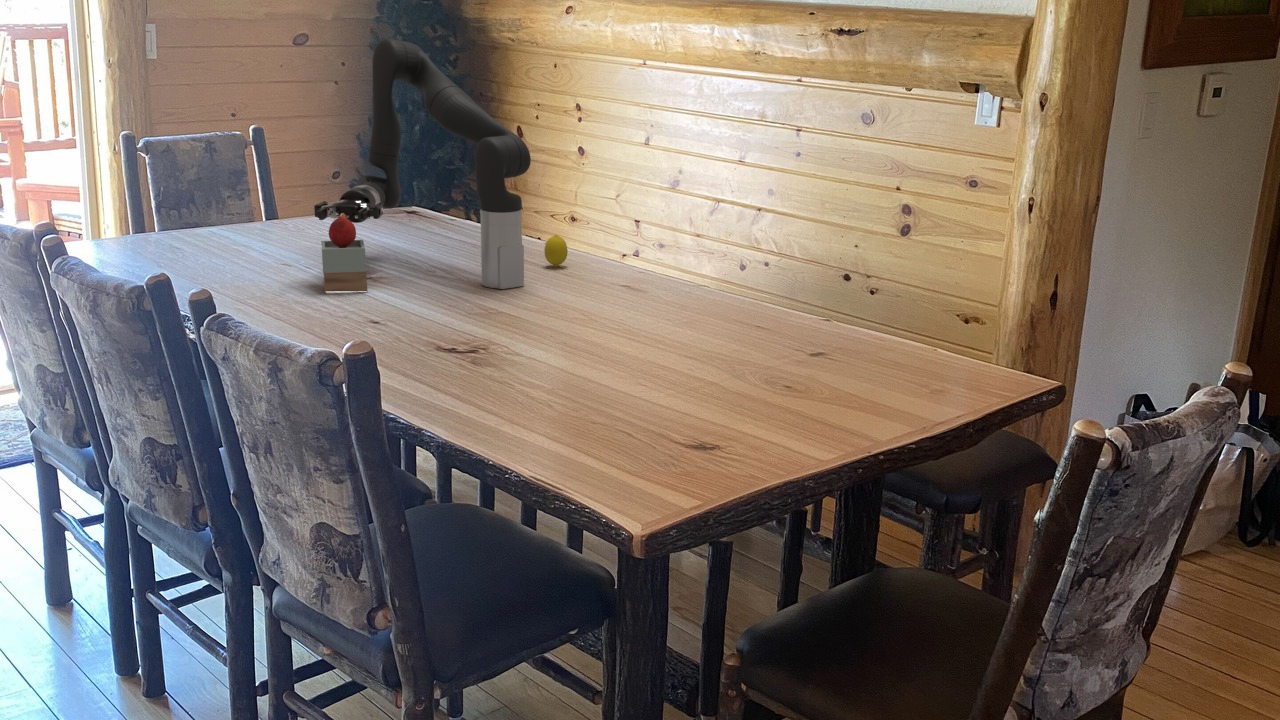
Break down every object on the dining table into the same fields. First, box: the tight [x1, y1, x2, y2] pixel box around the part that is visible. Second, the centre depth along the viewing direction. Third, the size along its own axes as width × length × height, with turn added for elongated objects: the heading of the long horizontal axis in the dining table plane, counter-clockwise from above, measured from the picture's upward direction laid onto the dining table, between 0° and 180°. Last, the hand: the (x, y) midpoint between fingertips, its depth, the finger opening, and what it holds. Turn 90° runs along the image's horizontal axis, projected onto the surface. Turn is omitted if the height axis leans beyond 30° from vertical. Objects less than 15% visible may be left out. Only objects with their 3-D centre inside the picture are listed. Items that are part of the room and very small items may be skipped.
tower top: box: [321, 239, 367, 274], centre depth 255 cm, size 9×9×5 cm
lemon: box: [544, 234, 568, 268], centre depth 281 cm, size 6×6×8 cm
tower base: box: [323, 271, 368, 292], centre depth 257 cm, size 9×9×5 cm
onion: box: [328, 213, 357, 248], centre depth 253 cm, size 6×6×8 cm
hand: (339, 216), depth 251 cm, fingers open, 8 cm apart
